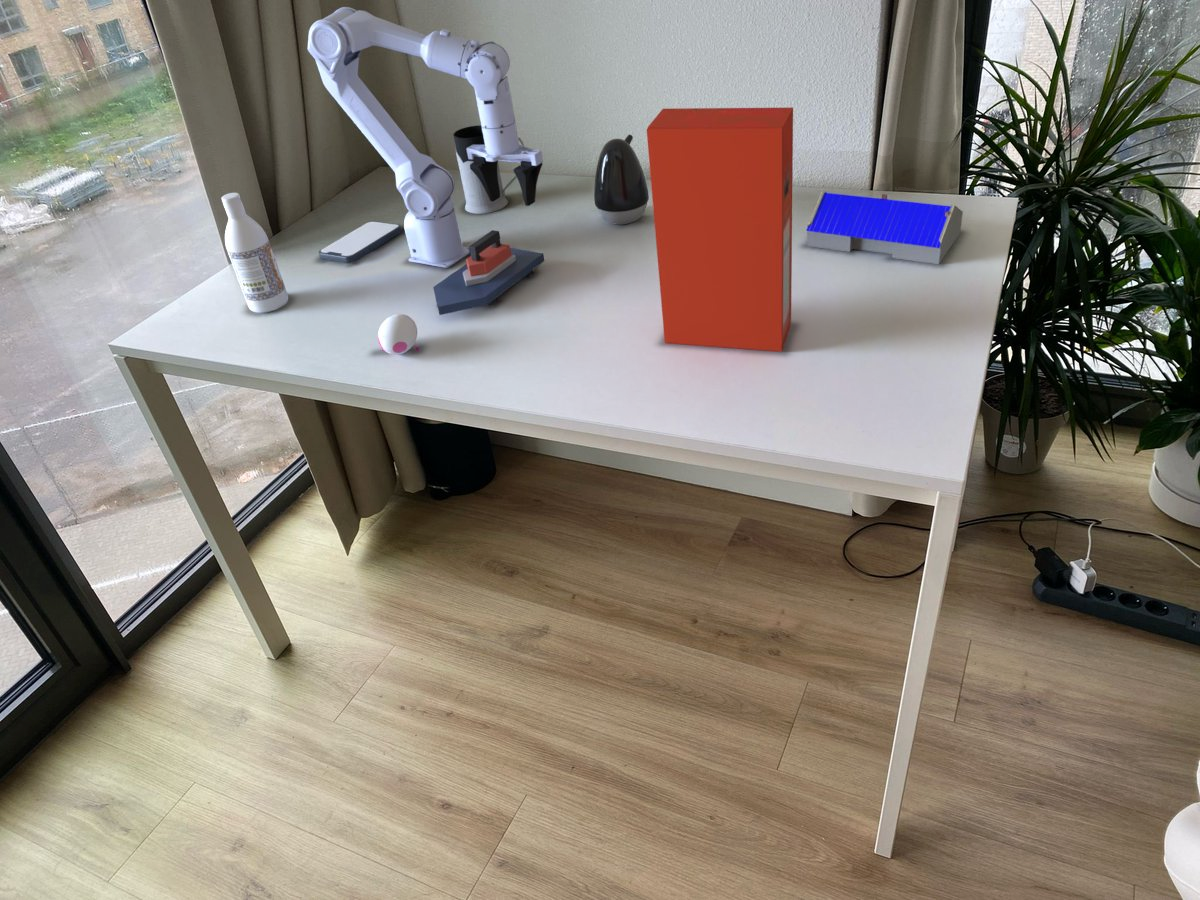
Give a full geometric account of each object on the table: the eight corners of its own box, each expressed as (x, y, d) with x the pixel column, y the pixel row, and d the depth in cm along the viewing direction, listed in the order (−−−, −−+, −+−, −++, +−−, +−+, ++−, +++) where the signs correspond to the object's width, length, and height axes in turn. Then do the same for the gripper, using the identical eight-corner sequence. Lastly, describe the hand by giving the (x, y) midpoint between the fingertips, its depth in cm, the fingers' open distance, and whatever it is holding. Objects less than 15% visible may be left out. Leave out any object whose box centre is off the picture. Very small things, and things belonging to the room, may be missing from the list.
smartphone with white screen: (371, 227, 188) (317, 260, 177) (369, 220, 187) (314, 252, 176) (405, 232, 184) (352, 265, 173) (403, 224, 183) (349, 257, 172)
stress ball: (400, 357, 150) (369, 328, 147) (434, 329, 147) (403, 299, 144) (389, 381, 144) (356, 351, 141) (424, 352, 141) (391, 321, 138)
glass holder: (471, 197, 195) (456, 125, 186) (537, 194, 192) (525, 120, 183) (460, 214, 188) (444, 140, 179) (528, 211, 185) (516, 135, 176)
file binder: (781, 353, 132) (782, 127, 113) (664, 344, 138) (646, 127, 119) (791, 325, 138) (793, 106, 119) (678, 318, 143) (663, 107, 124)
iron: (493, 256, 162) (487, 226, 159) (516, 260, 160) (511, 229, 157) (454, 283, 155) (447, 252, 152) (478, 288, 153) (471, 257, 150)
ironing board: (416, 317, 154) (411, 301, 152) (496, 260, 168) (493, 244, 166) (468, 329, 148) (464, 312, 147) (546, 268, 163) (543, 252, 161)
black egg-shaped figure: (660, 211, 178) (654, 131, 169) (633, 233, 171) (625, 151, 162) (615, 205, 183) (607, 127, 174) (586, 226, 176) (576, 146, 167)
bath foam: (292, 306, 162) (254, 196, 150) (252, 318, 160) (211, 207, 148) (285, 291, 168) (248, 184, 156) (246, 302, 165) (206, 195, 154)
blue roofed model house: (961, 231, 156) (966, 189, 152) (937, 266, 147) (942, 222, 143) (835, 215, 167) (836, 176, 163) (805, 247, 158) (806, 206, 154)
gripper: (449, 128, 155) (466, 206, 163) (519, 134, 148) (533, 214, 156) (475, 114, 160) (490, 190, 168) (544, 119, 153) (556, 198, 161)
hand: (512, 201), depth 162 cm, fingers open, 7 cm apart
